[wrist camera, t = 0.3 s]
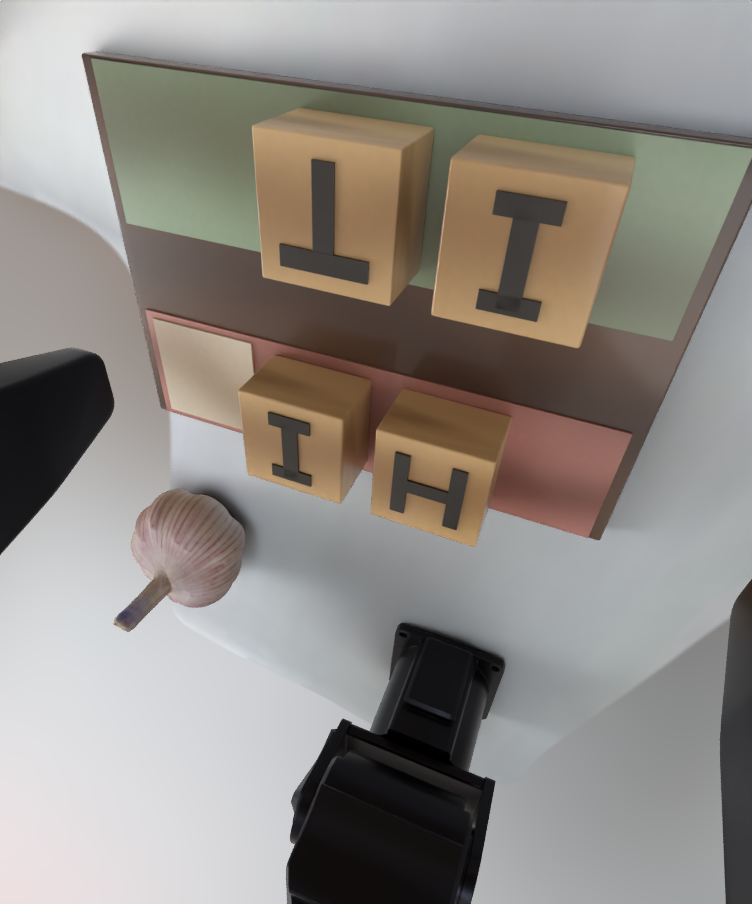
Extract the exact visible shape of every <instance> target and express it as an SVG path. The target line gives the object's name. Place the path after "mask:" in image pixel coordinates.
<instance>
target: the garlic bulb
mask: <svg viewBox="0 0 752 904" xmlns="http://www.w3.org/2000/svg"><path fill="white" fill-rule="evenodd" d="M245 541H246V539H245V531H244V529H243V527H242V525H241V524H240V523H239V522H238V521H237V520H235V519H234V518H233V517H231V516H230V514H229V513H228V511H227V509H226V508H225V507H224V506H223V505H222V504H221V503H220V502H218V501H217V500H216V499H214V498H212V497H210V496H207V495H201V494H199V495H195V494H193V493H191V492H189V491H187V490H180V489H174V490H170V491H167V492H165V493H163V494H161V495H160V496H159V497H157V498H156V499H155V501H154V502H153V503H152V505H150V506H149V507H147V508H146V509H144V510H143V511H142V512H141V514H140V515H139V517H138V519H137V521H136V525H135V531H134V534H133V537H132V541H131V551H132V555H133V557H134V559H135V560H136V562H137V563H138V564H139V565H140V568H141V570H142V572H143V573H144V574H145V576H146V577H147V578H149V579H150V580H152V581H151V582H150V583H149V584H148V585H147V587H146V588H145V589H144V590H143V591H142V592H141V594H139V596H138V597H137V598H135V599H134V601H132V602H131V604H130V605H129V606H128V607H127V608H126V609H124V610H123V611H122V612H121V613H120V614H119V615H118V616H117V617H116V618H115V620H114V625H116V626H118V627H120V628H121V629H123V630H125V631H127V632H129V631H131V630H132V629H133V628H135V627H136V625H137V624H138V623H139V622H140V621H141V620H142V619H143V618H144V617H145V616H146V615H147V614H148V613H149V612H150V611H151V610H152V609H153V608H154V607H155V606H156V605H157V604H158V603H159V602H160V601H161V600H162V599H163V598H164V597H165V596H166V595H167V596H168V597H169V598H170V599H171V600H172V601H173V602H177V603H180V604H182V605H184V606H187V607H192V608H198V607H204V606H208V605H210V604H212V603H214V602H216V601H218V600H219V599H221V598H222V597H223V596H224V595H225V594H226V593H227V592H228V590H229V589H230V587H231V585H232V583H233V582H234V581H235V579H236V578H237V576H238V574H239V572H240V568H241V556H242V553H243V550H244V547H245Z"/></svg>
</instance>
